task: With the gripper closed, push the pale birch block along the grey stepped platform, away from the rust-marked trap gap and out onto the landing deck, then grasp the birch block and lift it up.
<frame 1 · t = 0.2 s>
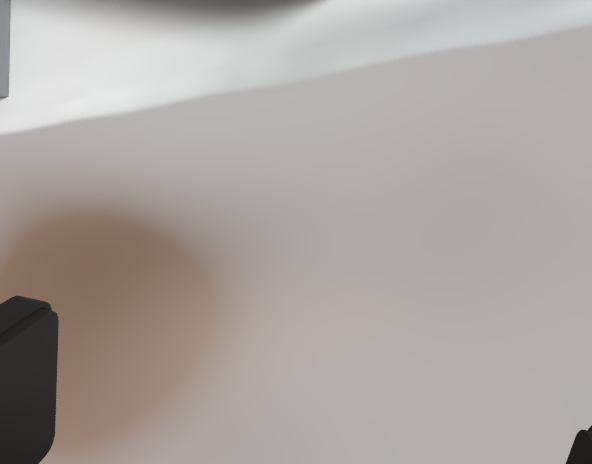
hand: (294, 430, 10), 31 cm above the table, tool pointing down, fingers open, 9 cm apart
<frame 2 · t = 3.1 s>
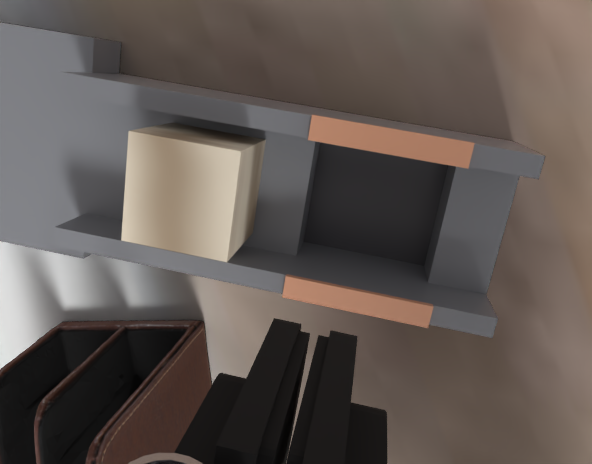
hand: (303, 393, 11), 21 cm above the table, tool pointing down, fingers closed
letter holder: (155, 447, 38), on the table
birch block: (213, 178, 29), point 3 cm above the table, touching grey stepped platform
grey stepped platform: (296, 182, 31), on the table
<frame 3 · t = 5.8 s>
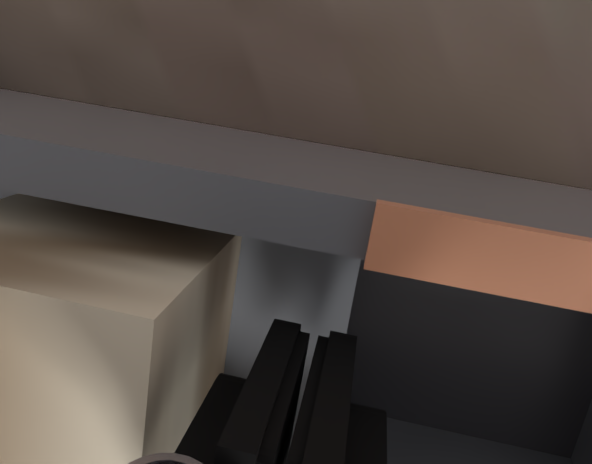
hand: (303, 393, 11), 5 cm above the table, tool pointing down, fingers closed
birch block: (131, 304, 13), point 3 cm above the table, touching gripper
grey stepped platform: (316, 294, 16), on the table
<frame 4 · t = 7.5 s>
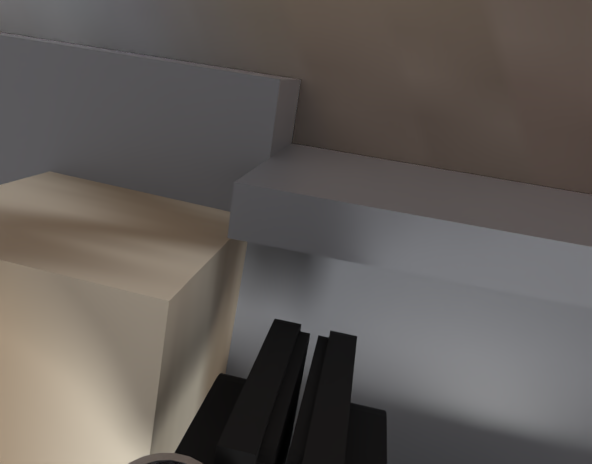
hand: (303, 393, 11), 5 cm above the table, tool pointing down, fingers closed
birch block: (138, 290, 13), point 3 cm above the table, touching gripper, grey stepped platform
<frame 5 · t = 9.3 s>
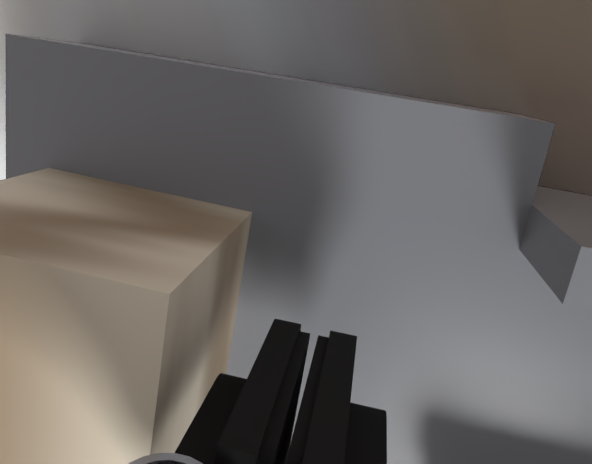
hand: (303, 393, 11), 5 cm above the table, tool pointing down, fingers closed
birch block: (138, 287, 13), point 3 cm above the table, touching gripper, grey stepped platform
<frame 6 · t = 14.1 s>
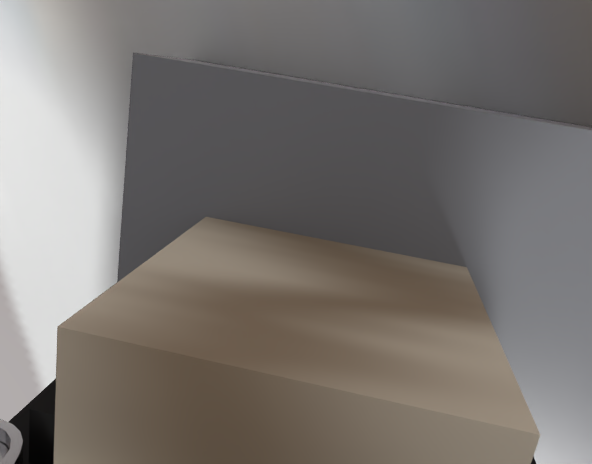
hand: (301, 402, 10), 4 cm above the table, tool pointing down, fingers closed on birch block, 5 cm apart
birch block: (311, 358, 11), point 3 cm above the table, touching gripper, grey stepped platform
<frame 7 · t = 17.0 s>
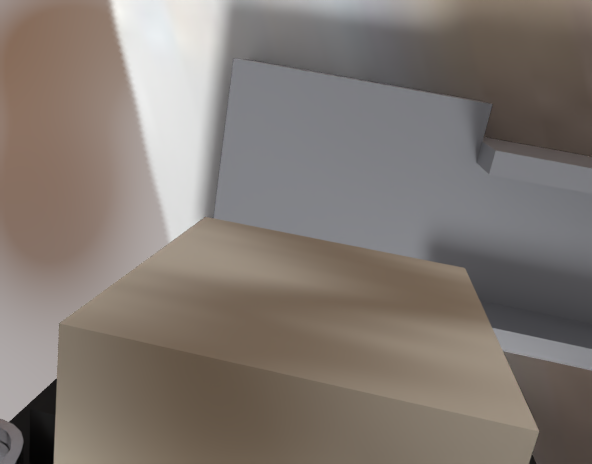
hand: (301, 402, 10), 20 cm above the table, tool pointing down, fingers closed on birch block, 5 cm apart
birch block: (310, 358, 11), point 19 cm above the table, touching gripper
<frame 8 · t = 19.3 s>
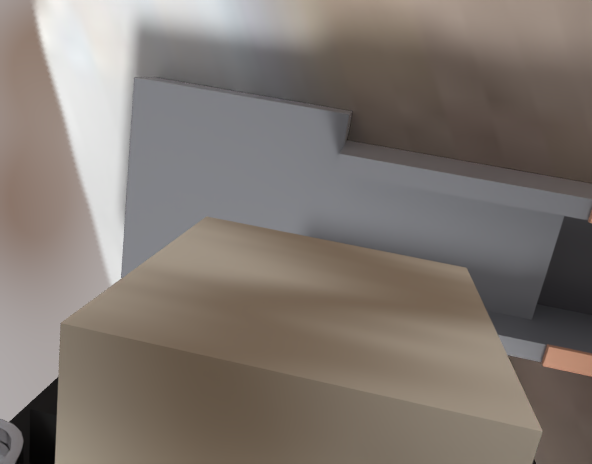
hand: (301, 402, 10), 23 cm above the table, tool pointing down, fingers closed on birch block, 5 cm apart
birch block: (311, 358, 11), point 23 cm above the table, touching gripper
grey stepped platform: (517, 244, 32), on the table
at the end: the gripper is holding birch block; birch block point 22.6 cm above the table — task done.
